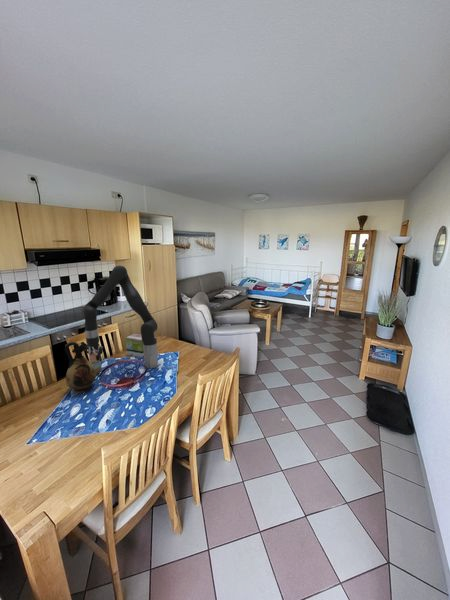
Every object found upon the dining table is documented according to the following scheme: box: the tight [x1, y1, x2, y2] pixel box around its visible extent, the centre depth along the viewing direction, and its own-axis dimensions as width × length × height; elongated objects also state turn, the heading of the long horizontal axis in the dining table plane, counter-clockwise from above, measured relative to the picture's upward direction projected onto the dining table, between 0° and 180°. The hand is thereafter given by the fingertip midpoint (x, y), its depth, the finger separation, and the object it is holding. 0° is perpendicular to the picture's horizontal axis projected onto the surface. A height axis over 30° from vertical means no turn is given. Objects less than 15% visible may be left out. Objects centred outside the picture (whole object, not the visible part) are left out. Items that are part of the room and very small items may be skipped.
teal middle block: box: [89, 360, 102, 369], centre depth 163 cm, size 5×5×4 cm
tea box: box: [125, 333, 144, 358], centre depth 192 cm, size 15×10×15 cm
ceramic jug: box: [64, 341, 97, 394], centre depth 143 cm, size 17×15×30 cm
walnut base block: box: [95, 366, 103, 375], centre depth 164 cm, size 6×6×4 cm
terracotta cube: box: [88, 352, 100, 362], centre depth 162 cm, size 4×4×4 cm
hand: (95, 359), depth 162 cm, fingers closed on terracotta cube, 4 cm apart
